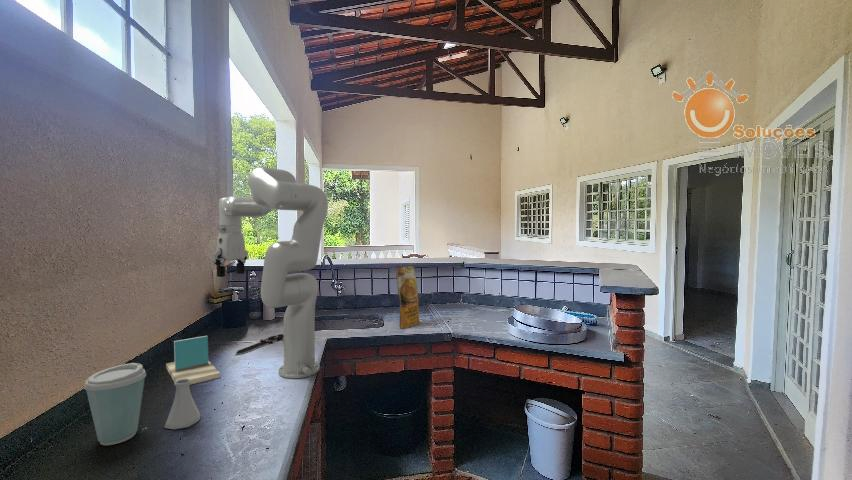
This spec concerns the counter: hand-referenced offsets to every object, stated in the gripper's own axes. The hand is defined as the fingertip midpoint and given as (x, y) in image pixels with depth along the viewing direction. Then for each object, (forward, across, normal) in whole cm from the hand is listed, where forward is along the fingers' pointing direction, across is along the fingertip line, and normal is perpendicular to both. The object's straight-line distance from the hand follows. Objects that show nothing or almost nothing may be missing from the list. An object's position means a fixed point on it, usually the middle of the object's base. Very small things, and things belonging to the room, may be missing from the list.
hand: (231, 275), depth 144 cm
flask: (+28, -49, -31) cm, 64 cm away
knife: (+28, +5, -9) cm, 30 cm away
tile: (+22, -24, -7) cm, 33 cm away
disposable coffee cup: (+28, -58, -23) cm, 68 cm away
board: (+28, -24, -7) cm, 38 cm away
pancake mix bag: (+28, +51, -55) cm, 80 cm away
